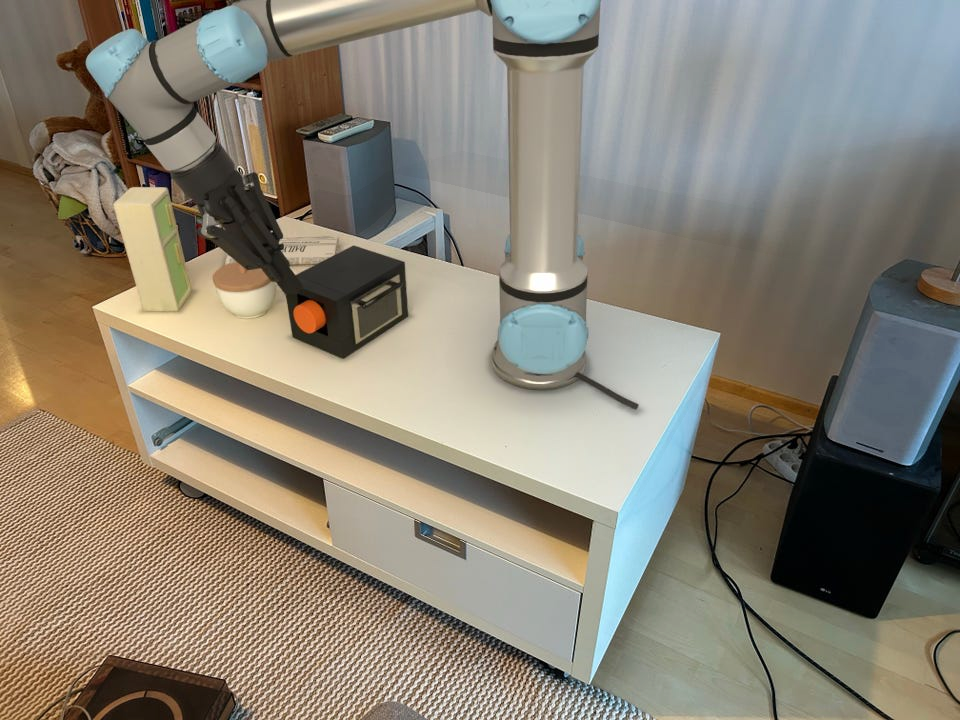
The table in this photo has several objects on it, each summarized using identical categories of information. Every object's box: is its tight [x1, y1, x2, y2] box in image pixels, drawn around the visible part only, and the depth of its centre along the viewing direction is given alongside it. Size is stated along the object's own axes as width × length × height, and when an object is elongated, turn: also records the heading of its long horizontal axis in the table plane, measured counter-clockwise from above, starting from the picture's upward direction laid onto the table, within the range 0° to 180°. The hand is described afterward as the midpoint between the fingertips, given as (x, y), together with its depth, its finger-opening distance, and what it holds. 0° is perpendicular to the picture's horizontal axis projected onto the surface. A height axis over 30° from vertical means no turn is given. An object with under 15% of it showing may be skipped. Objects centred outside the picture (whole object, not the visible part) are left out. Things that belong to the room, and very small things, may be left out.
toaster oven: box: [285, 245, 409, 360], centre depth 128 cm, size 17×14×11 cm
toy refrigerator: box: [112, 186, 193, 312], centre depth 134 cm, size 8×7×21 cm
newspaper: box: [224, 235, 339, 266], centre depth 156 cm, size 23×12×2 cm, turn 94°
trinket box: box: [212, 262, 277, 320], centre depth 134 cm, size 11×11×9 cm
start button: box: [294, 300, 326, 333], centre depth 122 cm, size 2×5×5 cm, turn 55°
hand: (294, 290), depth 110 cm, fingers closed
